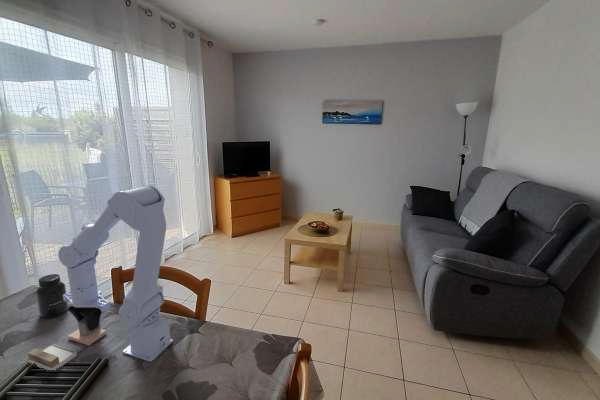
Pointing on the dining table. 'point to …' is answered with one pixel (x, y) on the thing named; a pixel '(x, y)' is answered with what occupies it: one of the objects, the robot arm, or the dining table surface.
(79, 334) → the grey and peach block
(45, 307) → the supplement bottle
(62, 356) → the board
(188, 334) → the dining table surface
